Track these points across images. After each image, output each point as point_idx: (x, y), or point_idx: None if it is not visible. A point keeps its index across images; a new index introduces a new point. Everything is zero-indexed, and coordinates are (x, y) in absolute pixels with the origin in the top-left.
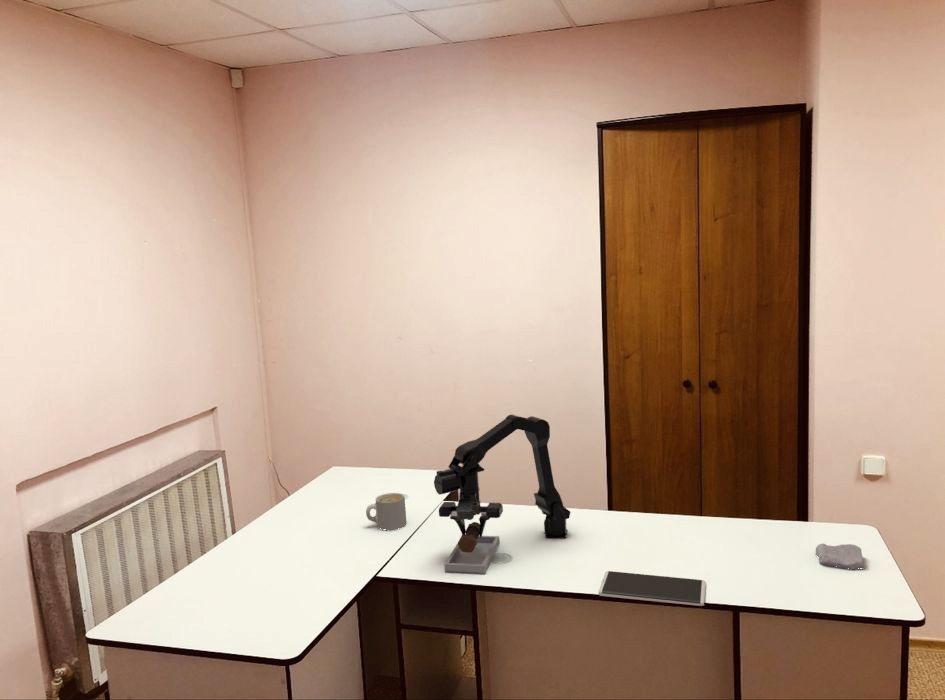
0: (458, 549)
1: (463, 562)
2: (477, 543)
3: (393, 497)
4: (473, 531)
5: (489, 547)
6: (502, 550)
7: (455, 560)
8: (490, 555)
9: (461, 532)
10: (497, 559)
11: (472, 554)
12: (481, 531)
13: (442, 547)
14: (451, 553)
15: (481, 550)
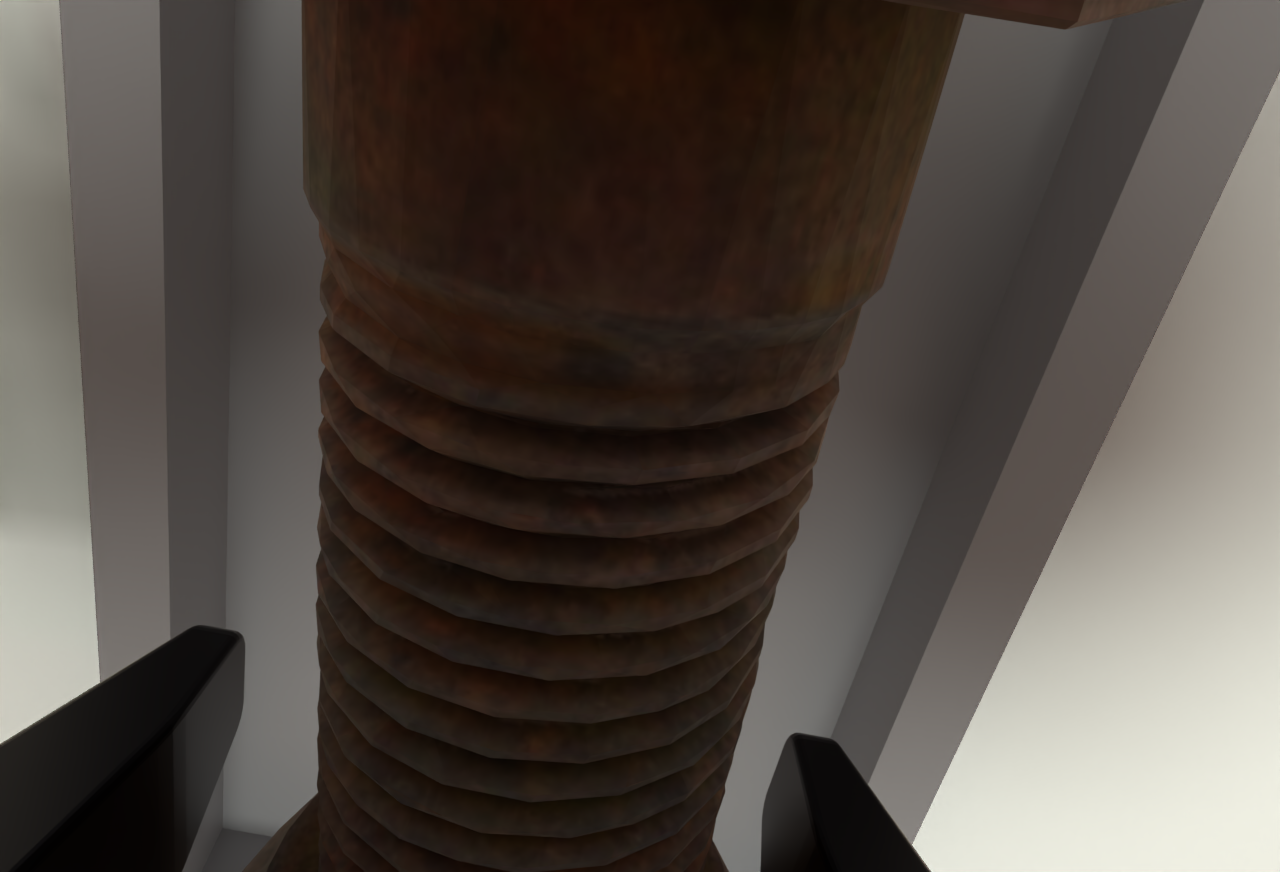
0: (916, 608)
1: None
2: None
3: None
4: (393, 805)
5: (306, 707)
6: (67, 612)
7: (1009, 213)
8: (88, 146)
9: (924, 865)
10: (57, 238)
11: None
12: (20, 760)
13: (1163, 835)
14: (1149, 323)
15: None
